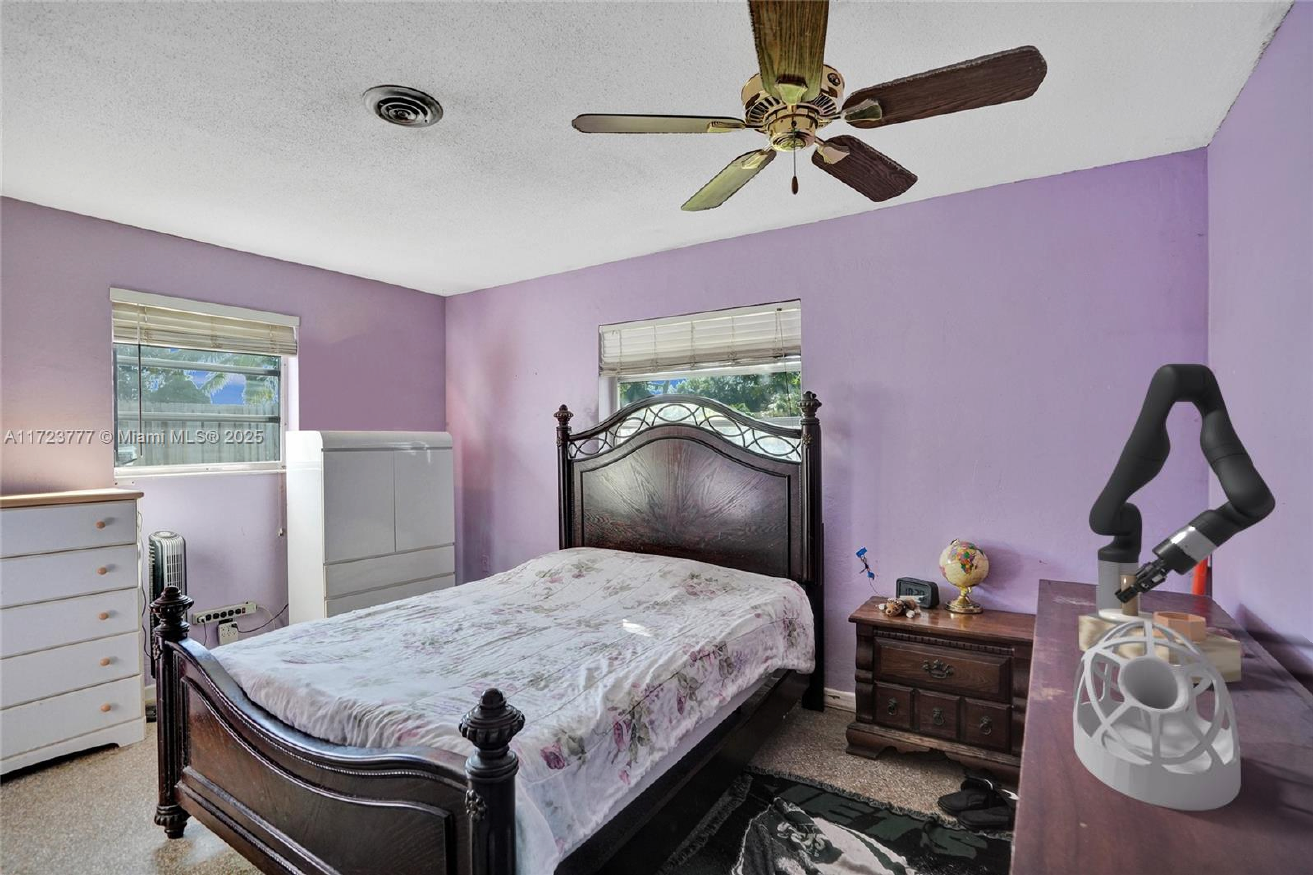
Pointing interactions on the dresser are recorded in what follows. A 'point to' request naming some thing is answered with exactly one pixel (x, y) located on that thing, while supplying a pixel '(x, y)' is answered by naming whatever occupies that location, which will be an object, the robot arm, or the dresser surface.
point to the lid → (1127, 607)
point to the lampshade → (1156, 723)
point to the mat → (1096, 615)
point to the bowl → (1182, 624)
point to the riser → (1215, 647)
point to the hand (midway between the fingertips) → (1119, 598)
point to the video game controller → (1224, 634)
